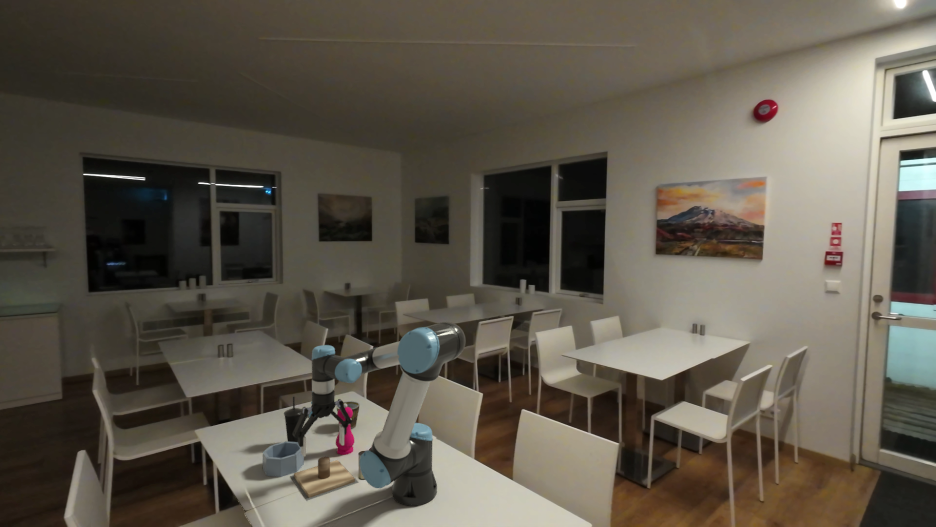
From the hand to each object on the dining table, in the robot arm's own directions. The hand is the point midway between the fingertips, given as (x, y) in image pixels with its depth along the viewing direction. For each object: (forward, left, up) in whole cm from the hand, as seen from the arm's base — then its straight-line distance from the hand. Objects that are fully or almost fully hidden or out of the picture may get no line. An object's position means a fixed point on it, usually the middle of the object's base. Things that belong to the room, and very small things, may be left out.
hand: (323, 449), depth 158 cm
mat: (0, 0, -11) cm, 11 cm away
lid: (0, 0, -11) cm, 11 cm away
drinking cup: (+34, 0, -12) cm, 36 cm away
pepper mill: (+15, -14, -12) cm, 23 cm away
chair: (+58, -19, -12) cm, 62 cm away
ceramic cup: (+35, -24, -12) cm, 44 cm away
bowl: (+17, +9, -11) cm, 22 cm away
